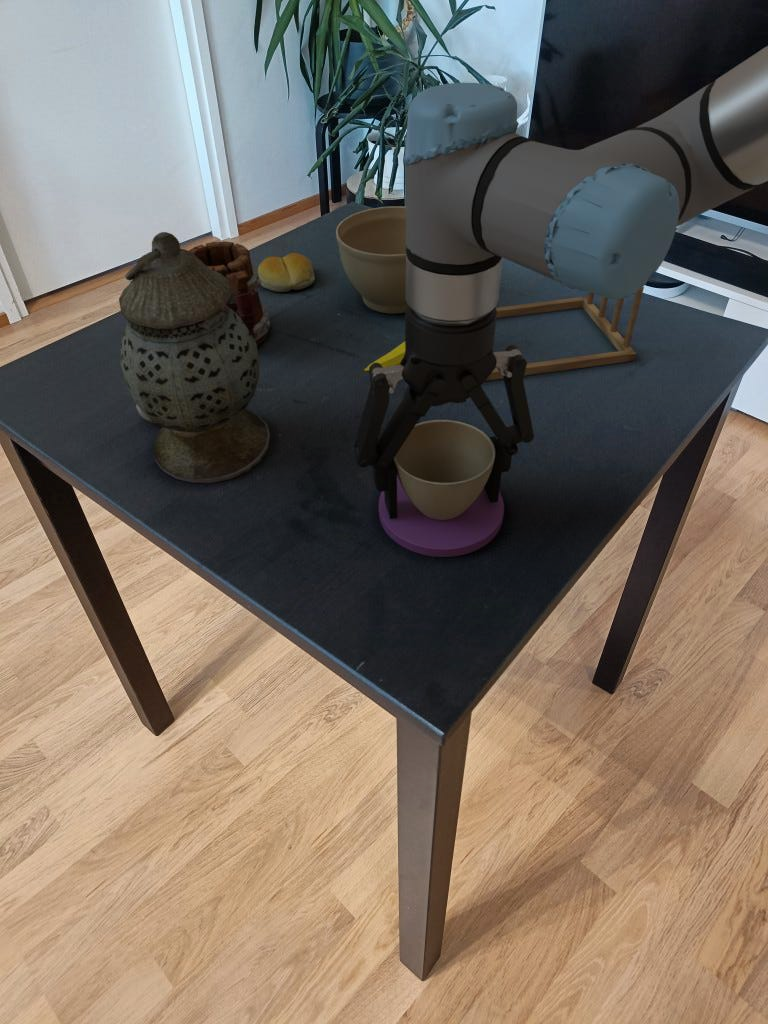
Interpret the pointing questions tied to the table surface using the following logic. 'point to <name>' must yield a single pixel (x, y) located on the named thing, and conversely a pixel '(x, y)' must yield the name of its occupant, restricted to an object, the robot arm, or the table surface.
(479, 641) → the table surface
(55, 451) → the table surface
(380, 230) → the planter bowl
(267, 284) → the bread roll
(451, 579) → the table surface
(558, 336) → the table surface
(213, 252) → the mug
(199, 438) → the lantern
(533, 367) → the rack
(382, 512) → the lid
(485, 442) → the flower pot
